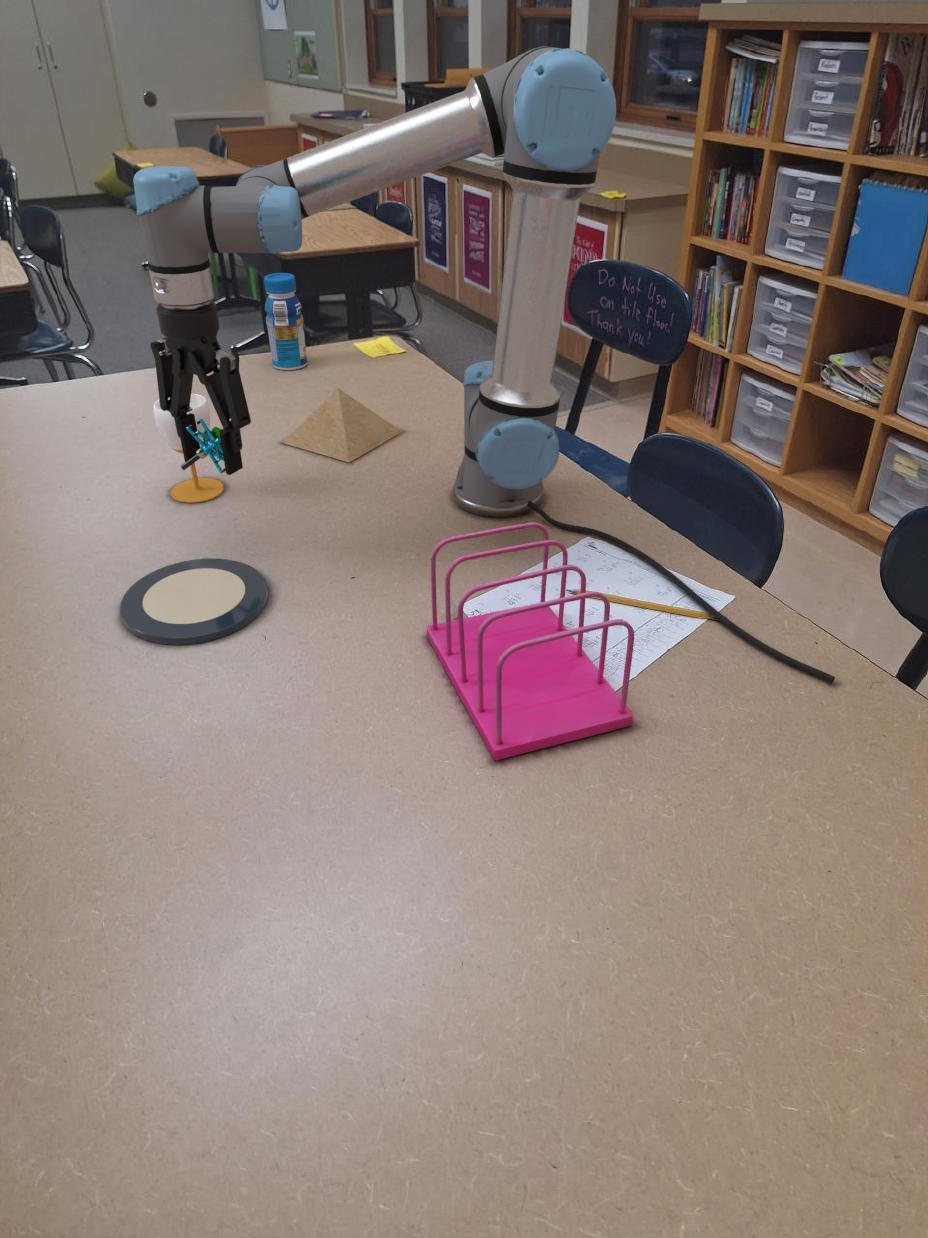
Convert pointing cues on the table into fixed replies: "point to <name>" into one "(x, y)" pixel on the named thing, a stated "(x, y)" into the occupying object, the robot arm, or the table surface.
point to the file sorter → (528, 661)
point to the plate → (194, 601)
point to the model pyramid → (341, 429)
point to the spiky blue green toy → (206, 446)
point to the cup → (165, 423)
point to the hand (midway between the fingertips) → (213, 464)
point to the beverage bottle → (284, 322)
